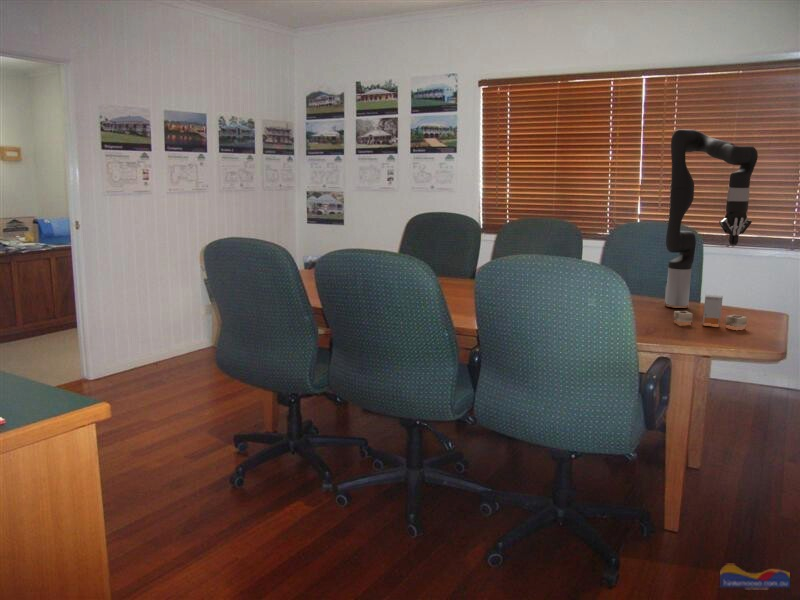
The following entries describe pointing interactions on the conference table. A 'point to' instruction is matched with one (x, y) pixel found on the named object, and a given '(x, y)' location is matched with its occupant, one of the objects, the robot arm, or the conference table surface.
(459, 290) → the conference table surface
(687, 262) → the robot arm
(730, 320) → the marked block
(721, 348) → the conference table surface
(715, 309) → the skincare box
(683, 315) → the marked block
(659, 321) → the conference table surface
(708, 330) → the conference table surface
